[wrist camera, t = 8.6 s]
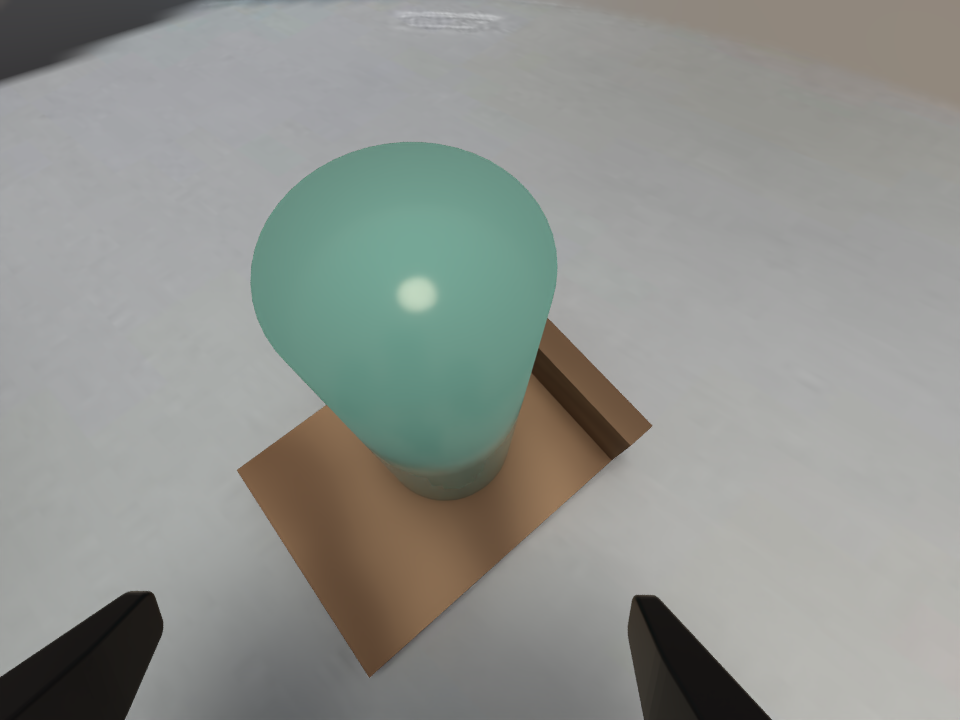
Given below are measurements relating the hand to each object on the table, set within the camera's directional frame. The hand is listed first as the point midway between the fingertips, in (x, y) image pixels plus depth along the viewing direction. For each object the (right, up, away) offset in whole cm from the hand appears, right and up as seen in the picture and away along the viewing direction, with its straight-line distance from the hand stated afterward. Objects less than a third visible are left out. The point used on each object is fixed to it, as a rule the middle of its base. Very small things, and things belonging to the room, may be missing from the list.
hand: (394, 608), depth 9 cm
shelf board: (0, 0, +14) cm, 14 cm away
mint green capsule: (0, +1, +13) cm, 13 cm away
